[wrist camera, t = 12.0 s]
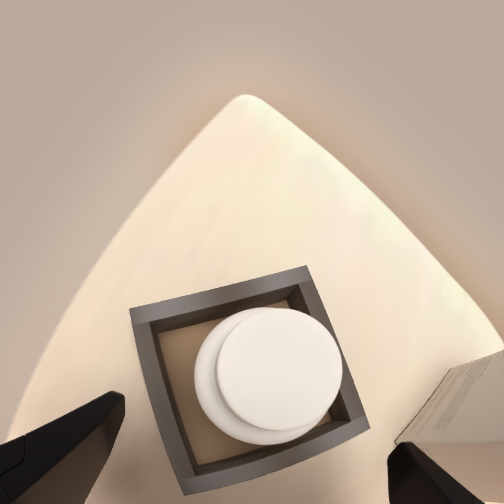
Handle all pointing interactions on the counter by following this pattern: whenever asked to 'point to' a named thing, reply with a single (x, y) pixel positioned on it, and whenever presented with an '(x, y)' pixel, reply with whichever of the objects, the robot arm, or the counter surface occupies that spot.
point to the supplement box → (466, 427)
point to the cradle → (184, 394)
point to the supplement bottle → (267, 374)
